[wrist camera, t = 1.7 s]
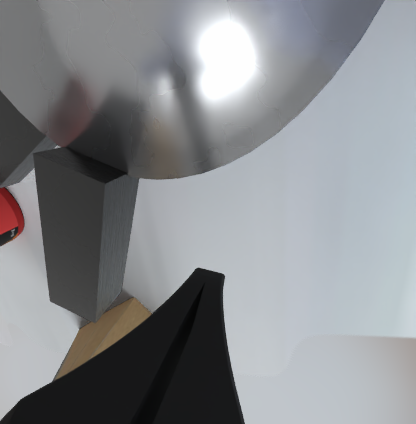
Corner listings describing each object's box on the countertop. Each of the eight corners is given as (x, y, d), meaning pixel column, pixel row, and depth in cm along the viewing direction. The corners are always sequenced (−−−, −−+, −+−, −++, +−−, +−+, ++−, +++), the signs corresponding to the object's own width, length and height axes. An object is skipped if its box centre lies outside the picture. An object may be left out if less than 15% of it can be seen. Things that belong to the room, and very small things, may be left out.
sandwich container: (77, 327, 32) (-56, 480, 19) (133, 294, 25) (-20, 503, 12) (118, 362, 33) (22, 526, 20) (182, 340, 26) (96, 571, 13)
